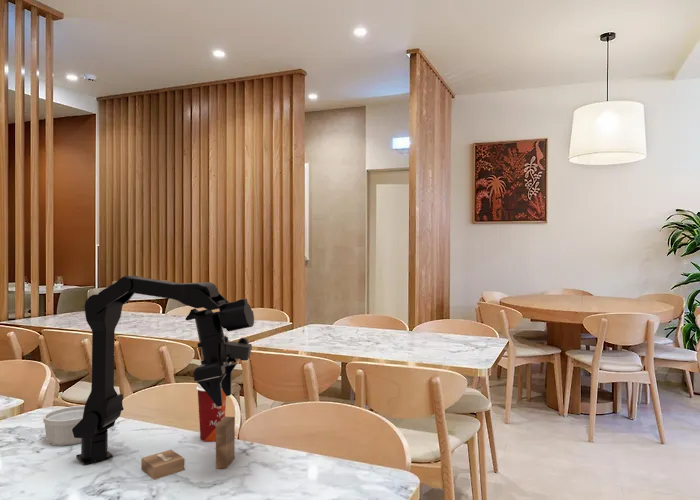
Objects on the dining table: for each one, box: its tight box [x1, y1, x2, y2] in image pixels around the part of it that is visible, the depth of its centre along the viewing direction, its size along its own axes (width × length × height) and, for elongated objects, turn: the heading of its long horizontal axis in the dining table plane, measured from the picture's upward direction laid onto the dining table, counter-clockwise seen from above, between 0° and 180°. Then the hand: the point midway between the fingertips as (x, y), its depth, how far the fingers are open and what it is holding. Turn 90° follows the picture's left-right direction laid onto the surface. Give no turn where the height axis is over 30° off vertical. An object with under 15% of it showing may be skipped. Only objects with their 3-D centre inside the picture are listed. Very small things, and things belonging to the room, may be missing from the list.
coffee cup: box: [196, 383, 227, 443], centre depth 133 cm, size 8×8×15 cm
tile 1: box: [140, 449, 186, 480], centre depth 113 cm, size 7×7×3 cm
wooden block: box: [215, 416, 236, 470], centre depth 117 cm, size 3×6×10 cm, turn 174°
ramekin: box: [42, 404, 85, 446], centre depth 133 cm, size 13×13×7 cm
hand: (224, 400), depth 116 cm, fingers open, 9 cm apart
